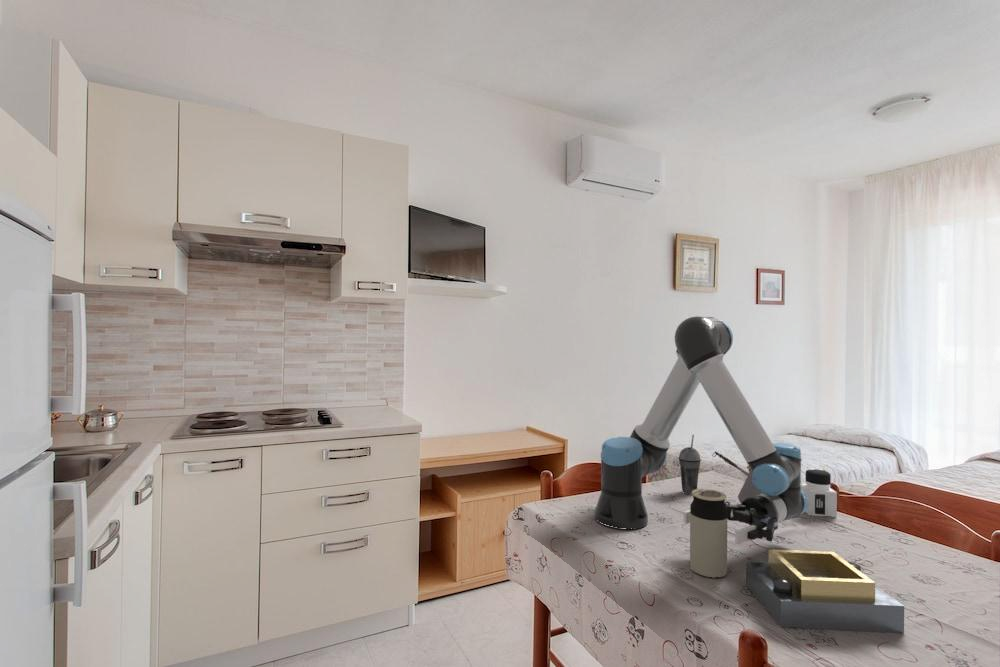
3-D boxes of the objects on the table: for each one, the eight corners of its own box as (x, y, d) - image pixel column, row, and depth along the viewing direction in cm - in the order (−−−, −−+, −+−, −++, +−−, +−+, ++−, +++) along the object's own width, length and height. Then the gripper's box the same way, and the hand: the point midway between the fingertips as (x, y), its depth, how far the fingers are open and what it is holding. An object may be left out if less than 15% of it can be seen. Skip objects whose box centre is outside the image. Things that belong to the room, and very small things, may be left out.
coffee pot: (785, 510, 157) (786, 462, 157) (766, 517, 151) (766, 467, 151) (723, 491, 175) (723, 448, 175) (702, 497, 169) (703, 453, 169)
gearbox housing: (780, 627, 95) (781, 582, 95) (745, 584, 111) (745, 546, 111) (904, 633, 93) (904, 587, 93) (850, 588, 109) (850, 549, 109)
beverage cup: (674, 489, 177) (675, 432, 177) (694, 489, 178) (695, 432, 178) (683, 496, 170) (684, 437, 170) (704, 495, 171) (705, 436, 171)
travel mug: (734, 572, 116) (734, 495, 116) (713, 582, 112) (714, 501, 111) (703, 559, 123) (703, 486, 123) (682, 568, 118) (683, 491, 118)
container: (837, 517, 151) (837, 474, 151) (808, 515, 153) (809, 473, 153) (826, 509, 159) (826, 467, 159) (799, 507, 160) (799, 466, 160)
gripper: (814, 543, 117) (761, 564, 106) (718, 510, 138) (666, 525, 127) (814, 511, 117) (761, 529, 106) (718, 482, 138) (666, 495, 127)
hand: (709, 527), depth 116 cm, fingers open, 13 cm apart
